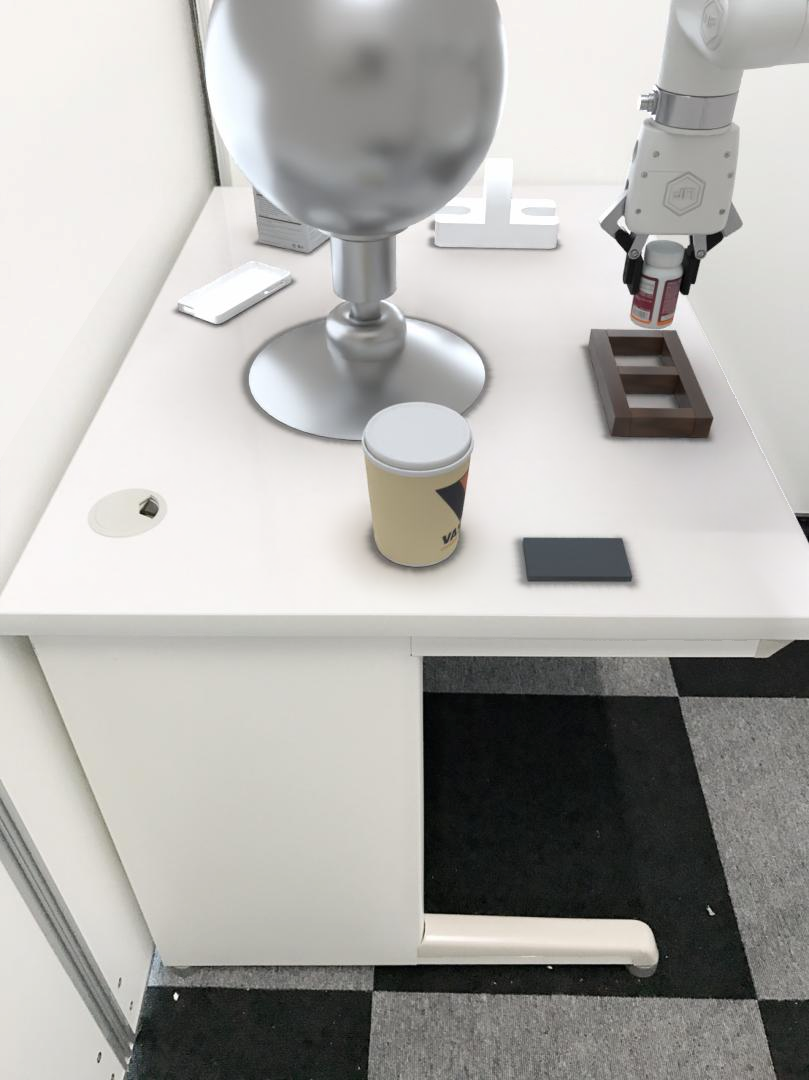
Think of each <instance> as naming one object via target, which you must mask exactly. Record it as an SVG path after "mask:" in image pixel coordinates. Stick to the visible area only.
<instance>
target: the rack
mask: <svg viewBox="0 0 809 1080" xmlns="http://www.w3.org/2000/svg"><path fill="white" fill-rule="evenodd" d="M587 348H588V349H587V350H588V352H589V356H590V360H591V364H592V367H593V371H594V376H595V379H596V382H597V387H598V390H599V394H600V398H601V402H602V405H603V409H604V413H605V417H606V421H607V424H608V428H609V432H610V436H611V437H649V438H650V437H651V438H654V437H655V438H657V437H658V438H667V437H668V438H709V435H710V431H711V429H712V424H713V422H714V416H713V414H712V412H711V409H710V406H709V404H708V402H707V399H706V398H705V397H706V396H705V394H704V392H703V390H702V387H701V385H700V383H699V381H698V378H697V376H696V373H695V372H694V369H693V367H692V364H691V362H690V359H689V357H688V355H687V352H686V350H685V348H684V345H683V342H682V340H681V339H680V336H679V334H678V331H677V330H676V329H618V328H617V329H615V328H613V329H611V328H610V329H609V328H607V329H605V328H602V329H601V328H591V329H590V333H589V339H588V345H587ZM615 356H653V357H654V356H655V357H656V356H657V357H658V356H659V357H660V359H661V363H662V364H663V365H662V366H659V365H658V366H657V365H656V366H655V365H652V366H651V365H618V364H617V361H616V359H615V358H616V357H615ZM626 394H656V395H657V394H658V395H659V394H661V395H664V394H665V395H674V396H675V399H676V401H677V403H678V406H679V408H678V407H630V404H629V401H628V398H627V395H626Z"/></svg>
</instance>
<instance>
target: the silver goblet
mask: <svg viewBox="0 0 809 1080" xmlns="http://www.w3.org/2000/svg"><path fill="white" fill-rule="evenodd" d="M208 15H209V16H208V20H207V26H206V32H205V40H204V75H205V81H206V82H205V83H206V91H207V97H208V101H209V106H210V109H211V112H212V116H213V119H214V123H215V125H216V128H217V131H218V133H219V135H220V138H221V139H222V142H223V144H224V146H225V148H226V150H227V152H228V153H229V156H230V157H231V158H232V160H233V162H234V164H235V165H236V167H237V168H238V170H239V171H240V172H241V173H242V175H243V176H244V177H245V179H246V180H247V181H248V183H250V184H251V186H252V185H253V187H254V188H255V189H256V190H257V191H258V192H259V193H260V194H261V195H262V196H264V197H265V198H266V199H267V200H268V201H269V202H270V203H272V204H273V205H274V206H276V207H277V208H278V209H280V210H281V211H283V212H284V213H286V214H287V215H289V216H291V217H293V218H294V219H296V220H298V221H300V222H302V223H304V224H307V225H309V226H312V227H314V228H316V229H318V230H319V231H320V232H322V233H324V234H326V235H329V236H330V238H329V244H330V245H329V247H330V262H331V280H332V292H333V294H334V295H335V296H336V297H338V298H339V299H341V300H344V301H342V302H341V303H339V304H337V305H336V306H335V307H333V309H332V310H330V312H328V314H327V316H326V319H322V320H318V321H314V322H311V323H308V324H304V325H301V326H299V327H296V328H294V329H292V330H289V331H288V332H285V333H283V334H281V335H280V336H279V337H277V338H276V339H273V340H272V341H271V342H270V343H268V344H267V345H266V346H264V348H263V349H262V350H261V351H260V352H259V353H258V355H257V356H256V357H255V359H254V360H253V362H252V364H251V367H250V368H249V374H248V386H249V389H250V392H251V394H252V396H253V399H254V400H255V401H256V403H257V404H258V405H259V407H260V408H262V410H263V411H265V412H266V413H267V414H268V415H270V416H271V417H273V418H274V419H275V420H277V421H279V422H281V423H283V424H285V425H287V426H288V427H291V428H293V429H296V430H299V431H302V432H304V433H309V434H311V435H316V436H320V437H325V438H331V439H340V440H349V441H362V434H363V431H364V429H365V428H366V426H367V424H368V422H369V420H370V419H371V418H372V417H373V416H374V415H375V414H377V413H378V412H380V411H381V410H383V409H385V408H388V407H390V406H393V405H397V404H401V403H409V402H426V403H433V404H438V405H442V406H445V407H447V408H450V409H452V410H454V411H455V412H457V413H458V414H460V415H462V414H463V413H464V412H465V411H467V410H468V409H469V408H470V407H472V405H473V404H474V403H475V401H476V400H478V398H479V396H480V394H481V393H482V391H483V388H484V385H485V382H486V370H485V365H484V363H483V360H482V358H481V357H480V355H479V354H478V352H477V351H476V350H475V348H473V347H472V345H471V344H470V343H468V341H466V340H465V339H464V338H462V337H460V336H459V335H457V334H455V333H454V332H452V331H450V330H448V329H445V328H443V327H441V326H438V325H436V324H433V323H429V322H426V321H423V320H419V319H416V318H409V317H405V314H404V313H403V311H402V310H401V309H400V308H399V307H397V306H396V305H395V304H393V303H392V302H391V301H388V300H387V299H389V298H390V297H392V296H393V295H394V294H395V293H396V291H397V235H399V234H400V233H403V232H404V231H406V230H407V229H408V228H409V227H411V226H413V225H415V224H418V223H420V222H422V221H424V220H425V219H428V218H429V217H431V216H433V215H434V214H435V213H436V212H437V211H438V210H440V209H441V208H442V207H444V206H445V205H446V204H447V203H449V202H450V201H451V200H452V199H453V198H456V197H457V196H458V195H459V194H460V192H462V191H463V190H464V188H465V187H466V186H467V185H468V184H469V182H470V181H471V180H472V179H473V177H474V176H475V175H476V174H477V172H478V170H479V169H480V167H481V165H482V164H483V162H484V160H486V157H487V155H488V153H489V152H490V149H491V147H492V146H493V142H494V140H495V137H496V136H497V133H498V129H499V126H500V123H501V119H502V116H503V112H504V108H505V103H506V96H507V89H508V78H509V77H508V76H509V59H508V57H509V56H508V46H507V45H508V44H507V38H506V37H507V36H506V32H505V26H504V22H503V17H502V14H501V11H500V8H499V3H498V2H497V0H213V1H212V4H211V7H210V11H209V14H208Z"/></svg>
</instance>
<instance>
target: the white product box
mask: <svg viewBox="0 0 809 1080" xmlns="http://www.w3.org/2000/svg"><path fill="white" fill-rule="evenodd" d="M251 188H252V194H253V195H252V196H253V203H254V210H255V219H256V227H257V233H258V243H260V244H265V245H269V246H272V247H278V248H282V249H286V250H292V251H297V252H301V253H306V254H310V253H311V252H313V251H314V250H315V249H316V248H318V247H319V246H321V245H322V244H324V243H325V242H326V241H327V240H329V239H330V236H329V235H326V234H324V233H322V232H320V231H319V230H318V229H316V228H314V227H312V226H309V225H307V224H304V223H302V222H300V221H298V220H296V219H294V218H293V217H291V216H289V215H287V214H286V213H284V212H283V211H281V210H280V209H278V208H277V207H276V206H274V205H273V204H272V203H270V202H269V201H268V200H267V199H266V198H265V197H264V196H262V195H261V194H260V193H259V192H258V191H257V190H256V189H255V188H254V187H253V185H252V184H251Z"/></svg>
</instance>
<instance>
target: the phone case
mask: <svg viewBox="0 0 809 1080" xmlns="http://www.w3.org/2000/svg"><path fill="white" fill-rule="evenodd" d="M291 282H292V273H291V272H290V271H289V270H285V269H282V268H279V267H276V266H273V265H270V264H266V263H263V262H260V261H257V260H250V261H248V262H246V263H244V264H241V265H240V266H238V267H236V268H235V269H233V270H230V271H229V272H227V273H225V274H223V275H221V276H219V277H218V278H216V279H214V280H212V281H210V282H209V283H206V284H205V285H203V286H201V287H199V288H197V289H195V290H193V291H192V292H189V293H188V294H186V295H184V296H182V297H180V298H179V299H177V307H178V312H181V313H184V314H187V315H190V316H192V317H194V318H198V319H201V320H203V321H206V322H209V323H211V324H215V325H220V324H223V323H225V322H226V321H228V320H230V319H231V318H233V317H235V316H236V315H238V314H240V313H241V312H244V311H245V310H247V309H249V308H251V307H252V306H253V305H256V304H257V303H259V302H260V301H263V300H264V299H266V298H267V297H269V296H271V295H273V294H274V293H276V292H278V291H279V290H281V289H282V288H284V287H286V286H288V285H289V284H291ZM280 283H281V284H280ZM272 288H273V289H272ZM270 289H271V290H270Z"/></svg>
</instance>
